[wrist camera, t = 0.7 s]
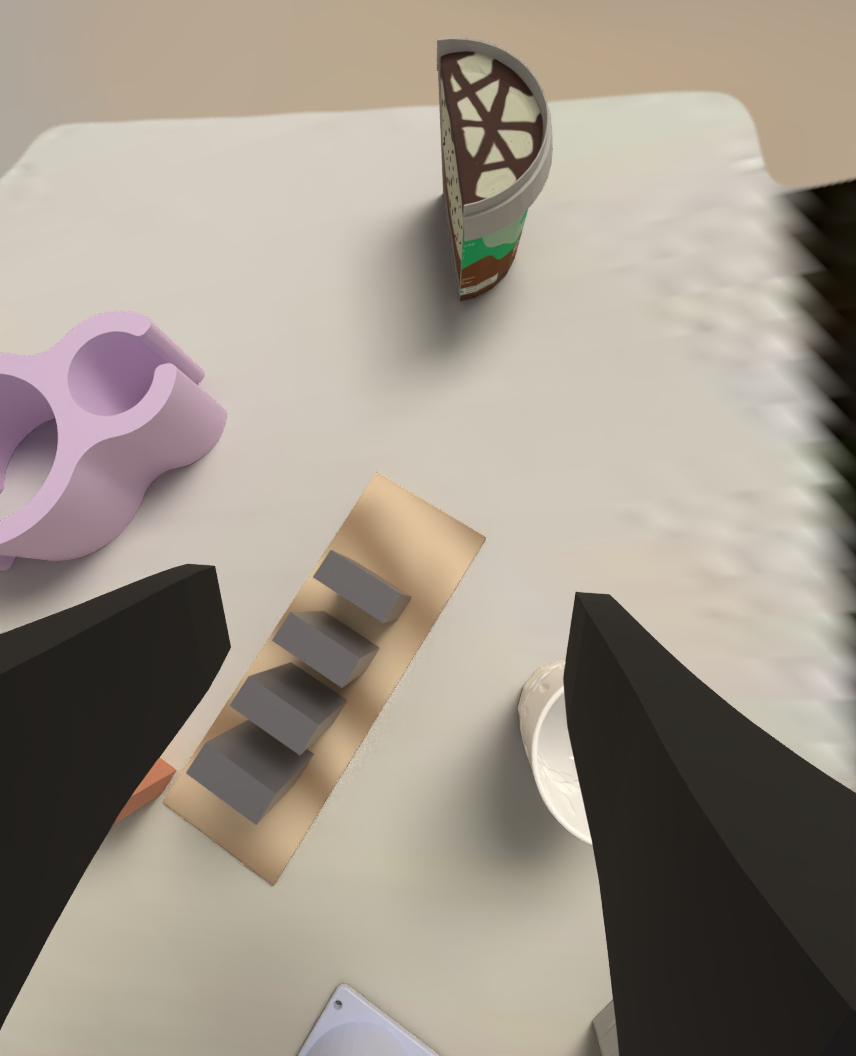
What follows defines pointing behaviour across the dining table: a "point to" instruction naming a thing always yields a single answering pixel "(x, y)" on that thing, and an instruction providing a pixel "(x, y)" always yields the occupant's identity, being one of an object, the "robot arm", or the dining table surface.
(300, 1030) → the dining table surface
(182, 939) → the dining table surface
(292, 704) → the domino
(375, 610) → the domino
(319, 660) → the domino
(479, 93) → the food container
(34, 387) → the clip
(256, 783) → the domino
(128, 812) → the rust domino
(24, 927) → the robot arm
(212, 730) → the cork strip
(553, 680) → the white cup
